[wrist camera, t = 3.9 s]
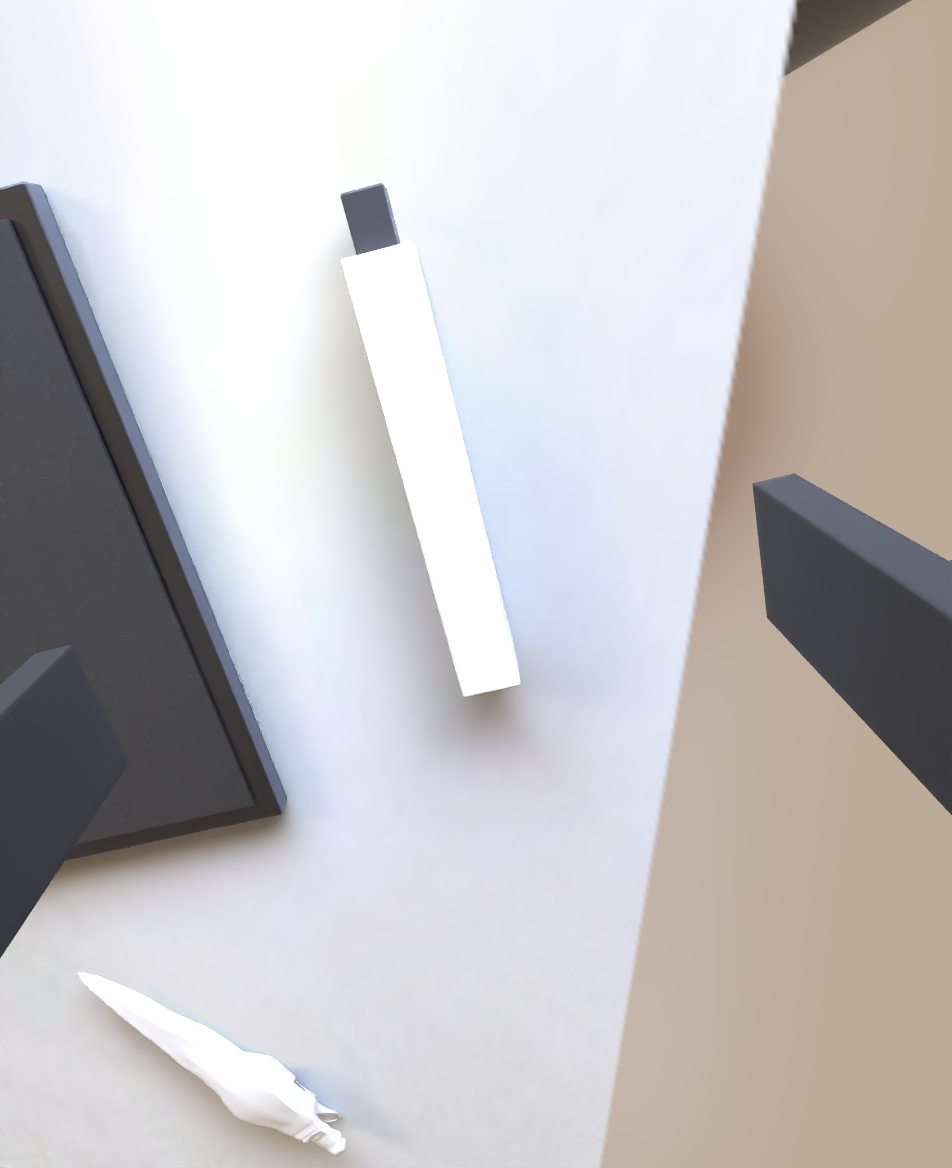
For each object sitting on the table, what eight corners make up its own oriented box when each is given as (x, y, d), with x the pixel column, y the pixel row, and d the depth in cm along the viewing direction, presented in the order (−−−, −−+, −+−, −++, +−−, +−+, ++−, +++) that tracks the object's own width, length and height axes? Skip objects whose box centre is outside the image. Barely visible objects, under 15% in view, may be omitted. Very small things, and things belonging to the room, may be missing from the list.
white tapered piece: (365, 1107, 37) (361, 1149, 35) (328, 1135, 38) (321, 1176, 36) (106, 938, 33) (86, 976, 31) (68, 971, 33) (46, 1010, 32)
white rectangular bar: (400, 185, 23) (395, 176, 20) (516, 653, 28) (521, 685, 26) (335, 203, 23) (321, 195, 21) (462, 665, 28) (463, 698, 26)
